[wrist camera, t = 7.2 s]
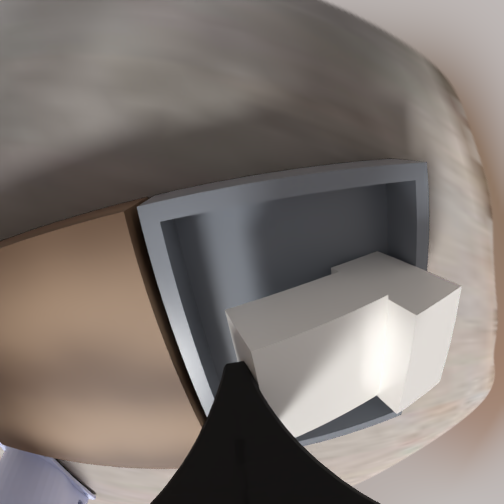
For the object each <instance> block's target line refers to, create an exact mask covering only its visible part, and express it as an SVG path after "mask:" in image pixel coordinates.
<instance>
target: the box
mask: <svg viewBox="0 0 504 504" xmlns="http://www.w3.org/2000/svg"><path fill="white" fill-rule="evenodd" d="M137 210H138V214H139V218H140V222H141V226H142V230H143V234H144V238H145V242H146V246H147V249H148V253H149V257H150V260H151V264H152V267H153V271H154V274H155V277H156V281H157V284H158V287H159V290H160V294H161V297H162V300H163V303H164V306H165V309H166V312H167V315H168V318H169V321H170V324H171V327H172V330H173V333H174V335H175V338H176V341H177V344H178V347H179V349H180V352H181V355H182V357H183V360H184V363H185V365H186V368H187V370H188V373H189V375H190V378H191V380H192V383H193V385H194V388H195V390H196V393H197V395H198V397H199V400H200V402H201V405H202V407H203V409H204V411H205V414H206V416H208V414H209V412H210V409H211V406H212V404H213V401H214V399H215V396H216V393H217V390H218V387H219V384H220V381H221V377H222V373H223V369H224V366H225V365H226V364H228V363H234V362H238V360H237V356H236V353H235V349H234V345H233V341H232V337H231V333H230V329H229V325H228V321H227V317H226V313H225V310H226V309H230V308H233V307H236V306H239V305H242V304H245V303H248V302H252V301H255V300H258V299H261V298H264V297H267V296H270V295H273V294H276V293H279V292H282V291H285V290H288V289H291V288H294V287H297V286H300V285H302V284H305V283H308V282H311V281H314V280H317V279H320V278H322V277H325V276H328V275H331V268H332V267H334V266H337V265H340V264H343V263H346V262H349V261H351V260H354V259H357V258H360V257H363V256H365V255H368V254H371V253H374V252H376V251H378V252H381V253H384V254H386V255H389V256H391V257H394V258H396V259H399V260H401V261H403V262H406V263H408V264H411V265H413V266H416V267H418V268H421V269H423V270H425V271H427V264H428V245H429V189H428V170H427V162H421V161H412V160H401V159H378V160H367V161H357V162H347V163H338V164H329V165H321V166H313V167H306V168H298V169H291V170H284V171H278V172H271V173H265V174H259V175H253V176H247V177H241V178H236V179H230V180H225V181H219V182H214V183H209V184H204V185H199V186H194V187H190V188H185V189H180V190H176V191H171V192H167V193H162V194H158V195H155V196H153V197H151V198H150V199H148V200H147V201H145V202H143V203H142V204H140V205H139V206H137ZM401 413H402V411H401V412H399V413H398V414H396V413H395V412H394V411H393V410H392V409H391V408H390V407H389V406H388V405H386V404H385V403H384V402H383V401H382V400H381V399H380V398H379V397H378V396H377V395H376V396H375V397H373V398H371V399H370V400H368V401H366V402H365V403H363V404H361V405H359V406H358V407H356V408H354V409H352V410H350V411H349V412H347V413H345V414H343V415H341V416H339V417H337V418H335V419H334V420H332V421H330V422H328V423H326V424H324V425H322V426H320V427H318V428H315V429H313V430H311V431H309V432H307V433H305V434H303V435H300V436H298V437H296V439H297V441H298V442H299V443H300V444H301V445H302V446H306V445H310V444H314V443H318V442H322V441H326V440H329V439H333V438H336V437H340V436H343V435H346V434H349V433H352V432H355V431H358V430H361V429H364V428H367V427H370V426H373V425H376V424H378V423H381V422H384V421H386V420H389V419H391V418H394V417H396V416H399V415H401Z"/></svg>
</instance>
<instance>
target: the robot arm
mask: <svg viewBox="0 0 504 504" xmlns="http://www.w3.org/2000/svg"><path fill="white" fill-rule="evenodd" d="M0 447H1V448H2V449H3V450H4V453H3V456H2V458H1V460H0V504H87V503H88V499H93V500H94V499H95V498H96V496H95V495H94V494H92V493H91V492H90V491H89V490H88V489H87V488H85V487H84V486H83V485H82V484H81V483H80V482H78V481H77V480H76V479H75V478H74V477H73V476H72V475H71V474H70V473H69V472H68V471H66V470H65V469H64V468H63V467H62V466H61V465H60V464H59V463H58V462H57V461H56V460H55V459H54V458H51V457H46V456H42V455H38V454H34V453H30V452H26V451H22V450H18V449H15V448H12V447H8V446H5V445H2V444H1V442H0ZM150 504H380V503H378V502H376V501H374V500H373V499H371V498H369V497H367V496H366V495H364V494H362V493H361V492H359V491H358V490H356V489H355V488H353V487H352V486H350V485H349V484H347V483H346V482H344V481H343V480H342V479H340V478H339V477H338V476H336V475H335V474H334V473H333V472H331V471H330V470H329V469H328V468H326V467H325V466H324V465H323V464H322V463H320V462H319V461H318V460H317V459H316V458H315V457H314V456H313V455H311V454H310V453H309V452H308V451H307V450H306V449H305V448H304V447H303V446H302V445H301V444H300V443H299V442H298V441H297V439H296V438H295V437H294V436H293V435H292V434H291V433H290V432H289V430H288V429H287V428H286V427H285V426H284V424H283V423H282V422H281V421H280V419H279V418H278V417H277V415H276V414H275V413H274V411H273V410H272V408H271V407H270V405H269V404H268V402H267V401H266V399H265V398H264V396H263V394H262V393H261V391H260V389H259V387H258V385H257V383H256V381H255V379H254V377H253V375H252V373H251V371H250V369H249V368H248V366H247V365H246V363H245V362H244V361H239V362H234V363H228V364H226V365H225V366H224V369H223V373H222V377H221V381H220V384H219V387H218V390H217V393H216V396H215V399H214V401H213V404H212V406H211V409H210V412H209V414H208V416H207V419H206V421H205V423H204V425H203V427H202V429H201V431H200V433H199V435H198V437H197V439H196V441H195V443H194V445H193V446H192V448H191V450H190V452H189V453H188V455H187V456H186V458H185V460H184V461H183V463H182V464H181V466H180V467H179V469H178V470H177V471H176V473H175V474H174V476H173V477H172V478H171V480H170V481H169V482H168V484H167V485H166V486H165V488H164V489H163V490H162V491H161V492H160V493H159V495H158V496H157V497H156V498H155V499H154V500H153V501H152V502H151V503H150Z"/></svg>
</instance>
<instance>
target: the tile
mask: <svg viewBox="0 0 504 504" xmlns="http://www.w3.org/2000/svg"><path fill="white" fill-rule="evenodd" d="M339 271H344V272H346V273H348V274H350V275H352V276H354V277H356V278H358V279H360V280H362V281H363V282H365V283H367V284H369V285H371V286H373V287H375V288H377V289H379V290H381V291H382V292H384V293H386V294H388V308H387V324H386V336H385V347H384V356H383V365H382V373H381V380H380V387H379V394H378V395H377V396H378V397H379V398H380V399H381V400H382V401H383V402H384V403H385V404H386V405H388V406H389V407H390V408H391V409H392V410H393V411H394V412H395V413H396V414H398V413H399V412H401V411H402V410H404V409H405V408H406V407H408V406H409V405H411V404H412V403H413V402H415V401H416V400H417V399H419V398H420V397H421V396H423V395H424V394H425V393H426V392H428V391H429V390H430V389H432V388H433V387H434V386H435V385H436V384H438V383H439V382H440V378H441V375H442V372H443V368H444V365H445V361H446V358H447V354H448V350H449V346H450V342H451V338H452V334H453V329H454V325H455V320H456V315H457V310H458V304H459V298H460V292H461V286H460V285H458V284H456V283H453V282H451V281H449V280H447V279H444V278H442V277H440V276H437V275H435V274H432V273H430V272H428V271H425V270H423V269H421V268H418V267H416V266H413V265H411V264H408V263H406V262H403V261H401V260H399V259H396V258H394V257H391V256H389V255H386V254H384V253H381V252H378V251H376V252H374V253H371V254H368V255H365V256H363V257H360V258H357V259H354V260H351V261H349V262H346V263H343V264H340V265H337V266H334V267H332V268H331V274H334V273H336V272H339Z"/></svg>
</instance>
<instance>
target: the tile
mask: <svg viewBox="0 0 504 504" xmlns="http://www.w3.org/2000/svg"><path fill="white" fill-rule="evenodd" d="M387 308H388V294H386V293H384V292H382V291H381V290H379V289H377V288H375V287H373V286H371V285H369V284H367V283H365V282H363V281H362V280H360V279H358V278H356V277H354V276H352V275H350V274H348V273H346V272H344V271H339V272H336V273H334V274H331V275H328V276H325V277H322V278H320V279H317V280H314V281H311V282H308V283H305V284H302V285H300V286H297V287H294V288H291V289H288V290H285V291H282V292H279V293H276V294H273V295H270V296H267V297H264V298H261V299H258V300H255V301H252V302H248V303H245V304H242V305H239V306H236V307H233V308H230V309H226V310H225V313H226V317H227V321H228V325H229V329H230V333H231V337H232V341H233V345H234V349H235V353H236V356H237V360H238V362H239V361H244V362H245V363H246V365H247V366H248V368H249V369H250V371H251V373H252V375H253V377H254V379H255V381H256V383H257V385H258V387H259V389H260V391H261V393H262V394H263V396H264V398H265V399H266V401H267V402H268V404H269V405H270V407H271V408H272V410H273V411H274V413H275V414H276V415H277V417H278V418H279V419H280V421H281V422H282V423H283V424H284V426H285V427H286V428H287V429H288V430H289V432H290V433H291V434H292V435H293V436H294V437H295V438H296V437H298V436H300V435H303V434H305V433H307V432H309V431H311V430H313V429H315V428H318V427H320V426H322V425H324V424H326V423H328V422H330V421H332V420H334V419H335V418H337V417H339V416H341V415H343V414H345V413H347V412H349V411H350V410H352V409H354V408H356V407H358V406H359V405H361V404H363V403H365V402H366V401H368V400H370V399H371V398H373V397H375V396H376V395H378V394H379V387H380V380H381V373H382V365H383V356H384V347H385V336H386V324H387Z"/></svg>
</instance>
